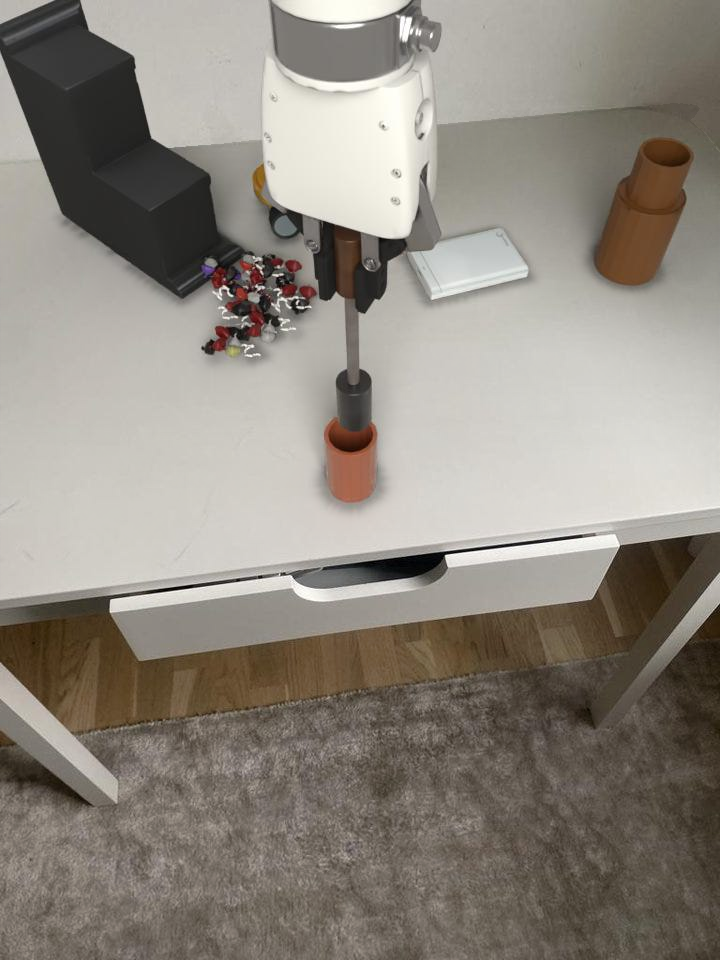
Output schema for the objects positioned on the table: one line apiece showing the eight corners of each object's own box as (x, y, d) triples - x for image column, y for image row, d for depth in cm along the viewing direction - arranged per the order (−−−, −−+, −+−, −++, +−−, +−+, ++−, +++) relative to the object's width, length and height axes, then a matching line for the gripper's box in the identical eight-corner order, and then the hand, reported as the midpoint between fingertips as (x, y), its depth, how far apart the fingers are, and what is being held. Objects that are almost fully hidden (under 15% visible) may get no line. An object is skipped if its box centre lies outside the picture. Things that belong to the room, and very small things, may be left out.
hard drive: (501, 225, 95) (407, 246, 93) (529, 268, 90) (432, 291, 88) (499, 236, 96) (406, 257, 94) (527, 279, 92) (430, 301, 90)
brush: (378, 422, 67) (381, 234, 50) (350, 437, 66) (343, 251, 49) (359, 400, 68) (355, 210, 51) (331, 415, 67) (318, 227, 50)
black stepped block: (247, 255, 94) (217, 64, 74) (181, 301, 90) (130, 111, 70) (127, 178, 103) (71, -12, 83) (61, 217, 98) (-14, 26, 79)
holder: (385, 487, 75) (387, 439, 69) (344, 511, 74) (343, 464, 67) (358, 454, 78) (357, 405, 71) (318, 476, 76) (314, 428, 69)
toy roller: (375, 228, 97) (376, 154, 88) (263, 245, 95) (253, 170, 86) (360, 186, 102) (360, 111, 93) (253, 201, 100) (243, 126, 91)
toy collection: (179, 273, 91) (175, 244, 86) (296, 256, 94) (298, 227, 90) (206, 375, 84) (203, 349, 80) (330, 352, 88) (333, 327, 84)
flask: (670, 269, 93) (719, 158, 80) (625, 294, 90) (668, 183, 78) (625, 235, 96) (665, 123, 84) (581, 258, 94) (615, 147, 81)
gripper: (514, 25, 39) (474, 294, 55) (247, -33, 43) (279, 233, 59) (461, 98, 36) (433, 365, 51) (174, 27, 40) (228, 294, 55)
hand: (351, 292), depth 55 cm, fingers closed on brush, 2 cm apart
